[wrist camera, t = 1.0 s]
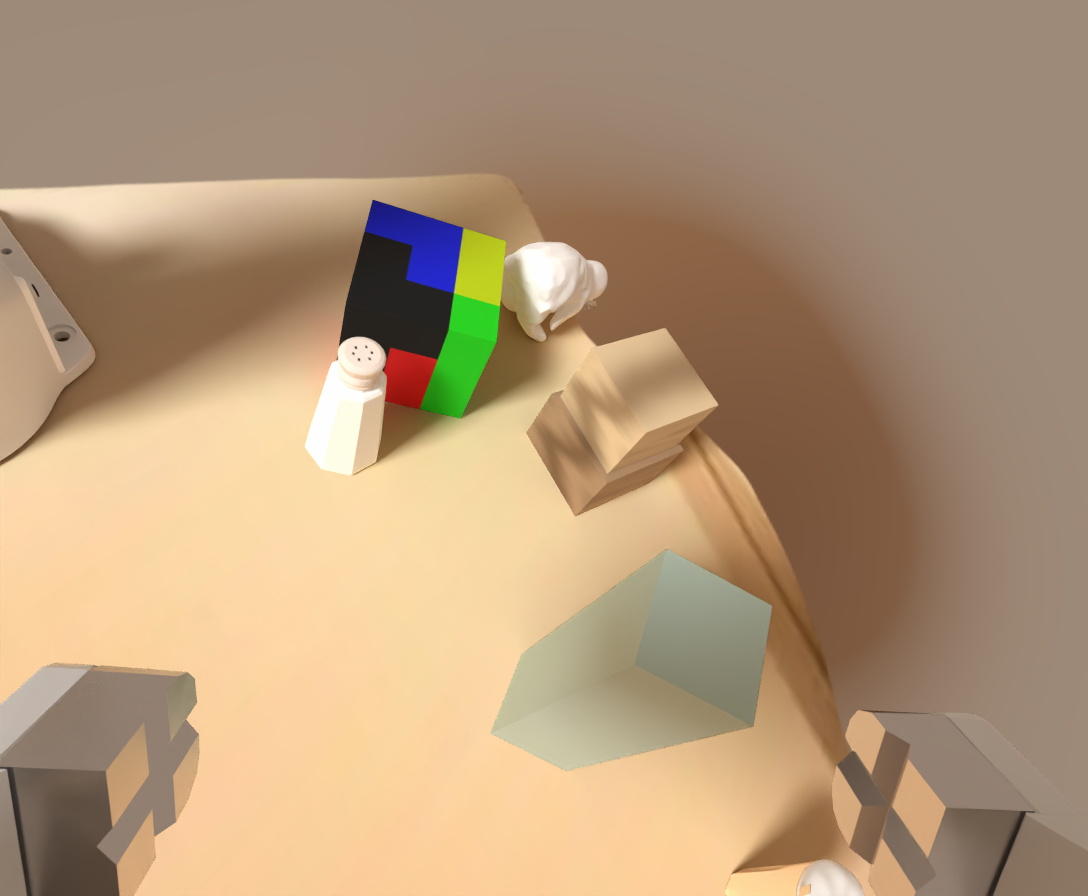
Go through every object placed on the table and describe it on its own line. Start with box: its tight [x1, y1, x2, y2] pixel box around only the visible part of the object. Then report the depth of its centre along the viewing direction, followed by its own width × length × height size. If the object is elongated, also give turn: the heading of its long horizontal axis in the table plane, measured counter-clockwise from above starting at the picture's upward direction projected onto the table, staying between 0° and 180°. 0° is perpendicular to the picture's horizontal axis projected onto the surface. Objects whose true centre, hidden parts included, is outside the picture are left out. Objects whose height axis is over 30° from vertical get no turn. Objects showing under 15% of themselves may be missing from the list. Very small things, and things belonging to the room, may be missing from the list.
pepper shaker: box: [305, 337, 387, 475], centre depth 44 cm, size 5×5×11 cm
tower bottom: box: [527, 390, 684, 516], centre depth 53 cm, size 8×8×6 cm
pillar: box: [491, 549, 772, 771], centre depth 36 cm, size 6×6×20 cm
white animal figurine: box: [501, 242, 608, 342], centre depth 59 cm, size 6×8×12 cm
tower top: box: [560, 328, 718, 474], centre depth 48 cm, size 7×7×6 cm
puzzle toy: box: [337, 200, 506, 418], centre depth 50 cm, size 10×10×10 cm
